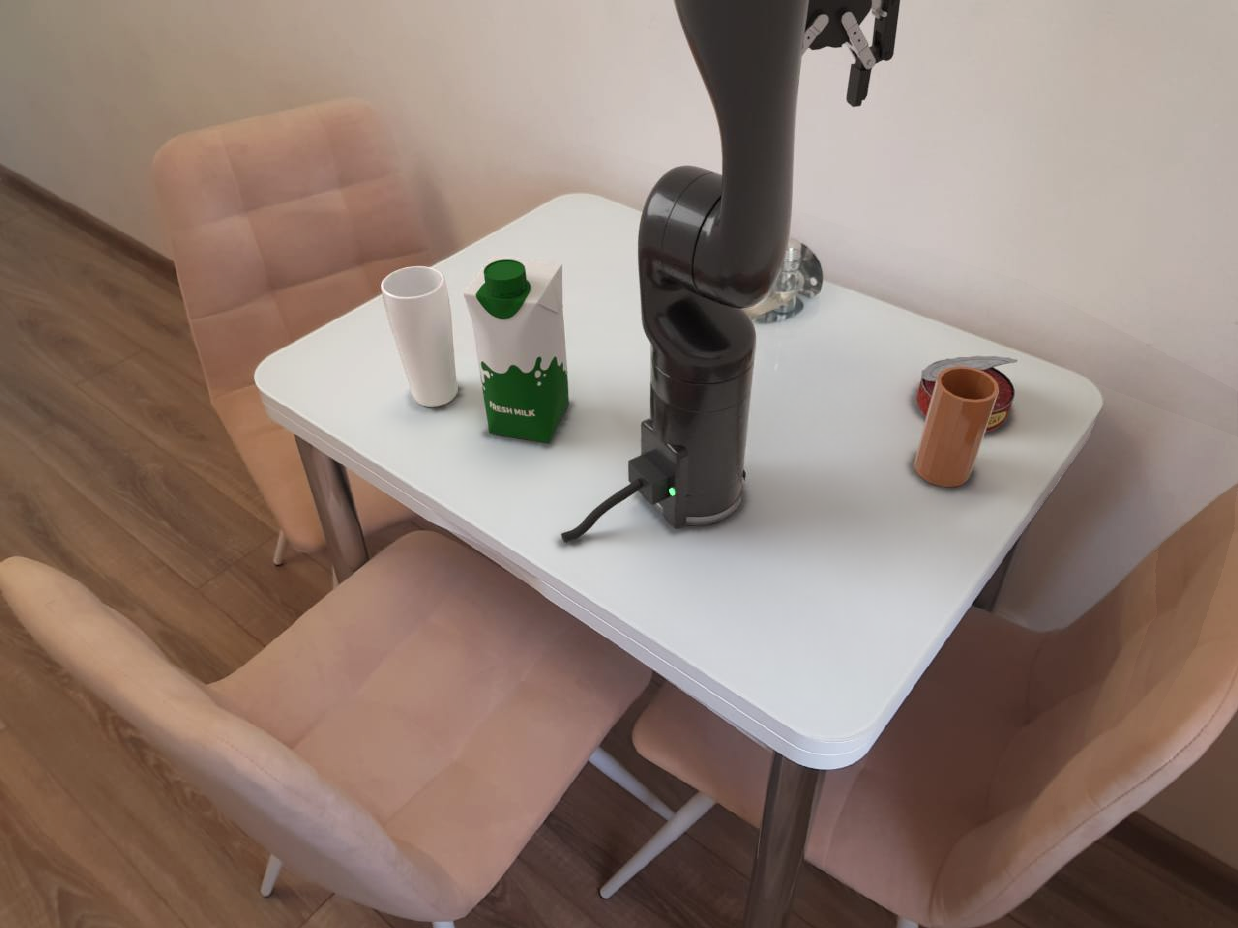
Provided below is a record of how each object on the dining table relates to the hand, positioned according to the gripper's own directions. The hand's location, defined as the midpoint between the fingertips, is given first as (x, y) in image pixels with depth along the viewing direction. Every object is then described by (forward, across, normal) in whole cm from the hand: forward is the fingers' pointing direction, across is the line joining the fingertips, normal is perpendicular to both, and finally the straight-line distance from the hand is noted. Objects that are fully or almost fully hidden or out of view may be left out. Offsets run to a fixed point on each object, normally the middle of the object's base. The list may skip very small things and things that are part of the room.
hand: (814, 108), depth 91 cm
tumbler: (+28, +7, -27) cm, 39 cm away
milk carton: (+28, -33, -8) cm, 44 cm away
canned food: (+28, +14, -18) cm, 36 cm away
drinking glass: (+28, -43, -1) cm, 52 cm away
